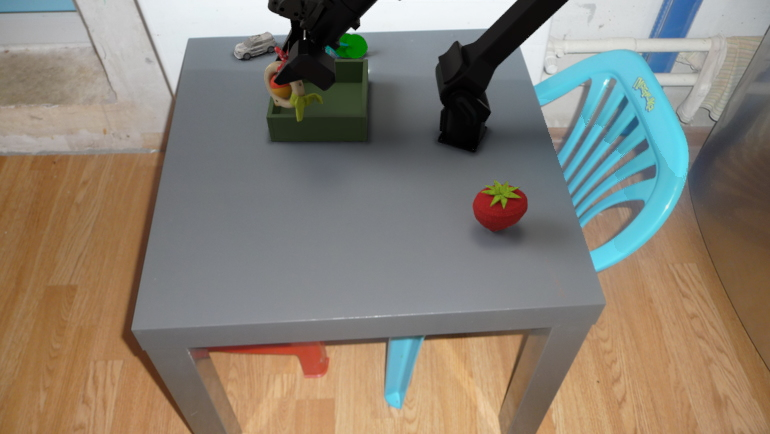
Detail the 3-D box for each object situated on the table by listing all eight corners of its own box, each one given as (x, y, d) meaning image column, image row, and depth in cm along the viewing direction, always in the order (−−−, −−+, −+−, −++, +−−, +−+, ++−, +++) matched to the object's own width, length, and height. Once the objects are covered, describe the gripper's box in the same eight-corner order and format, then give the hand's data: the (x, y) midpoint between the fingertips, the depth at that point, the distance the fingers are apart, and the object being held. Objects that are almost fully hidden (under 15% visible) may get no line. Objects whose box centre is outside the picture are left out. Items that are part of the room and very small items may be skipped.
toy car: (232, 52, 111) (229, 38, 109) (271, 41, 114) (269, 27, 112) (238, 62, 109) (235, 48, 107) (278, 50, 112) (276, 37, 110)
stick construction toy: (302, 59, 106) (307, 14, 105) (297, 59, 113) (302, 17, 111) (366, 70, 110) (372, 27, 108) (357, 70, 116) (363, 29, 115)
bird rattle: (270, 127, 90) (312, 127, 84) (234, 63, 84) (276, 58, 78) (294, 105, 93) (336, 103, 88) (261, 41, 87) (304, 35, 82)
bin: (368, 82, 105) (367, 58, 102) (366, 141, 95) (366, 117, 91) (281, 82, 105) (277, 59, 102) (270, 141, 95) (266, 117, 91)
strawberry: (527, 243, 81) (541, 194, 74) (474, 250, 81) (483, 201, 73) (513, 211, 85) (526, 161, 78) (463, 218, 84) (470, 168, 77)
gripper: (301, -77, 78) (235, 4, 86) (297, -5, 66) (221, 82, 74) (362, -23, 84) (295, 48, 92) (369, 52, 72) (292, 126, 80)
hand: (277, 73), depth 84 cm, fingers closed on bird rattle, 4 cm apart
